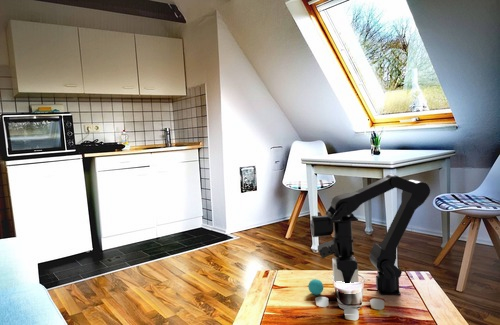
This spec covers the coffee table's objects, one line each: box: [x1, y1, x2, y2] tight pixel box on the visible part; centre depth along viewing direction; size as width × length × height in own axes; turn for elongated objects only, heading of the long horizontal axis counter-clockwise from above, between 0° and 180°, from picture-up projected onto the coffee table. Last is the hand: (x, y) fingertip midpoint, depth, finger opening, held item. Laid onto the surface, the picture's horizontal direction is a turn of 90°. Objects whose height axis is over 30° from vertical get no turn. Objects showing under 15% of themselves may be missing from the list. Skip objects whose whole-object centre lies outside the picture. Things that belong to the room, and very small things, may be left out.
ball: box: [308, 278, 324, 296], centre depth 123 cm, size 5×5×5 cm
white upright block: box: [331, 256, 359, 289], centre depth 121 cm, size 8×8×9 cm
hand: (345, 279), depth 122 cm, fingers closed on white upright block, 7 cm apart
